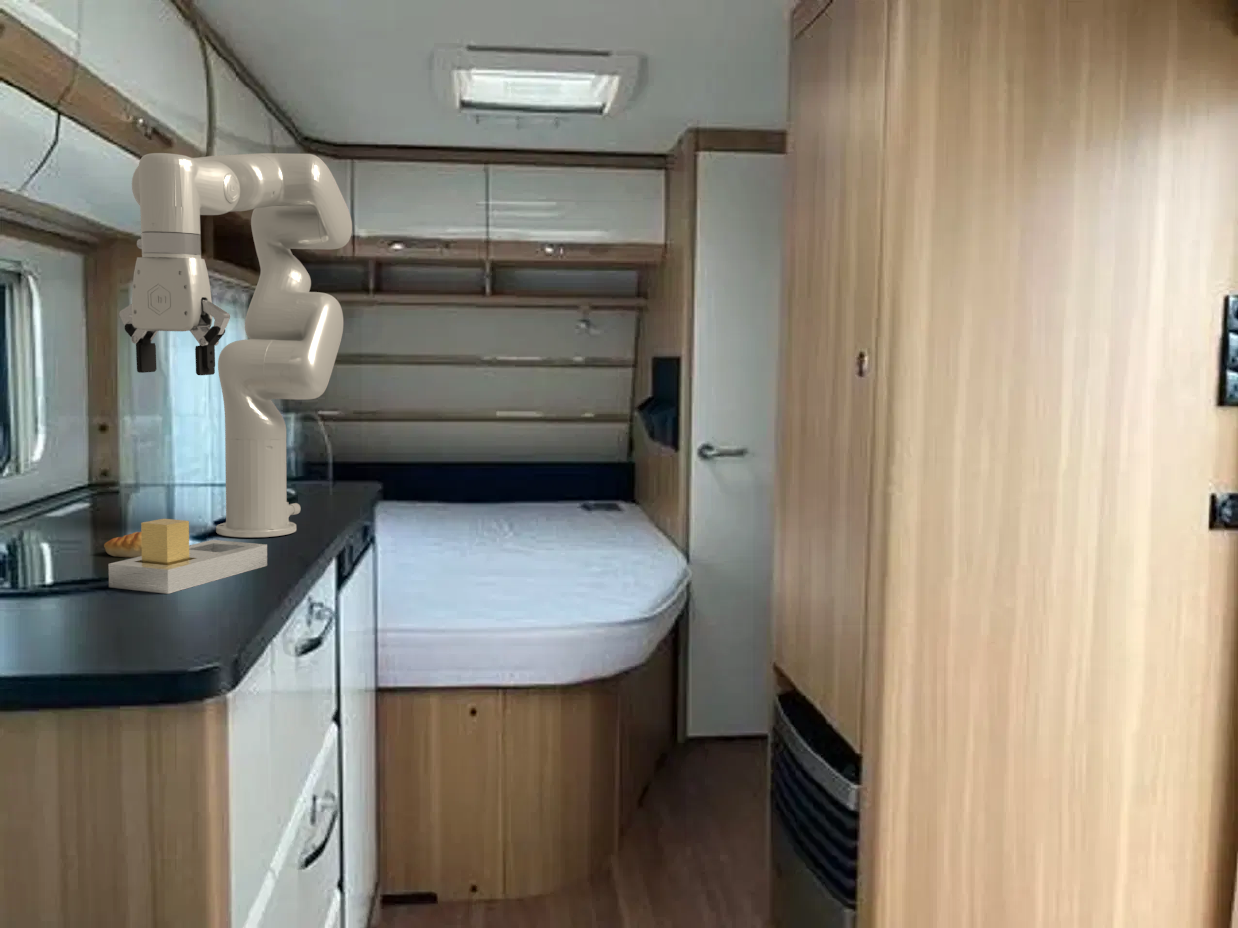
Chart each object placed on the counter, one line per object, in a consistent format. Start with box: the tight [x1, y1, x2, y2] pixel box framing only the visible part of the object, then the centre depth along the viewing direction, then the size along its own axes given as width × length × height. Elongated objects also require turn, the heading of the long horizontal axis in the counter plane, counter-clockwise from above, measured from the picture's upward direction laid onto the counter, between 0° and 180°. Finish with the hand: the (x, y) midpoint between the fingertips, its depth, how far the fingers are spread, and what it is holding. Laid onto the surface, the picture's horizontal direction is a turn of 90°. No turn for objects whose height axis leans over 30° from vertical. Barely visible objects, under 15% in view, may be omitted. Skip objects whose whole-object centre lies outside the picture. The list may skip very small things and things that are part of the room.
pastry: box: [103, 531, 142, 559], centre depth 161 cm, size 9×7×4 cm
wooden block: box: [140, 518, 190, 565], centre depth 142 cm, size 4×4×8 cm
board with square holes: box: [108, 539, 268, 595], centre depth 147 cm, size 20×9×3 cm, turn 162°
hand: (175, 373), depth 153 cm, fingers open, 9 cm apart
